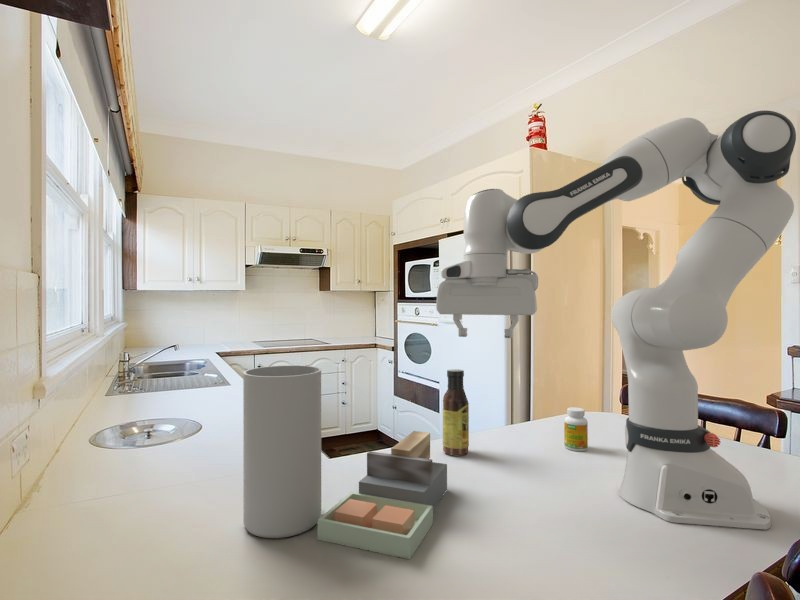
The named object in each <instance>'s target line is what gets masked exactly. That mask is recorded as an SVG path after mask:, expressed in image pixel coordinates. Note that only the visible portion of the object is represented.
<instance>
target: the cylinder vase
mask: <svg viewBox="0 0 800 600" xmlns="http://www.w3.org/2000/svg"><path fill="white" fill-rule="evenodd" d="M242 382H243V387H242V389H243V395H242V396H243V397H242V398H243V403H242V404H243V405H242V408H243V409H242V411H243V416H242V417H243V426H242V427H243V428H242V429H243V433H242V434H243V437H242V438H243V439H242V441H243V446H242V447H243V448H242V449H243V453H242V454H243V456H242V457H243V458H242V459H243V462H242V463H243V466H242V467H243V470H242V471H243V473H242V474H243V496H242V497H243V500H242V501H243V508H242V509H243V514H242V515H243V518H242V519H243V525H244V528H245V529H246V531H247V532H248V533H250V534H251V535H253V536H257V537H259V538H263V539H265V538H266V539H282V538H289V537H294V536H297V535H300V534H302V533H305V532H308V531H309V530H311V529H312V528H313V527H315V525H316V524H318V519H319V518H320V517H322V368H320V367H317V366H311V365H272V366H261V367H255V368H250V369H246V370H244V371H243V381H242Z"/></svg>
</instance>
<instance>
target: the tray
mask: <svg viewBox="0 0 800 600" xmlns="http://www.w3.org/2000/svg"><path fill="white" fill-rule="evenodd" d="M349 499H353V500H359V501H364V502H369V503H375V504H377V513H378V512H379V511H380V510H381V509H382V508H383V507H384V506H385V505H387V506H393V507H399V508H404V509H410V510H414V527H413V528H412V529H411V531H410V532H409V533H408V535H402V534H397V533H392V532H387V531H382V530H377V529H372V528H367V527H362V526H357V525H352V524H347V523H342V522H337V521H335V511H336V510H337V509H338V508H340V507H341V506H342V505H343V504H344V503H346V502H347V501H348V500H349ZM433 521H434V509H433V506H431V505H425V504H419V503H413V502H407V501H401V500H396V499H390V498H384V497H378V496H372V495H366V494H360V493H359V492H353V491H350V492H349V493H348V494H347V495H346V496H344V497H343V498H341V500H340V501H338V502H337V503H336V504H335V505H334V506H332V507H331V508H330V509H329V510H327V511H326V513H324V514H323V515H321V517H320V518H319V519H318V522H317V540H318V541H323V542H328V543H333V544H337V545H342V546H347V547H351V548H354V549H359V548H360V550H364V551H368V550H369V552H373V551H374V553H377V552H378V554H382V555H383V554H384V555H387V556H392V557H397V558H401V559H406V560H410V559H411V558H412V556H413V554H414V553H416V551H417V549H418V547H419V546H420V545H421V543H422V542H423V540H424V539H425V537H426V535H427V533H429V531H430V530H431V528H432V526H433V525H432V524H434V522H433Z"/></svg>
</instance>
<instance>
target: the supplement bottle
mask: <svg viewBox="0 0 800 600" xmlns="http://www.w3.org/2000/svg"><path fill="white" fill-rule="evenodd" d="M585 411H586V410H585V409H584V408H582V407H574V406H571V407H567V410H566V412H567V413H566V414H567V416H566V417H565V418H564V421H563V423H564V424H563V425H564V431H563V432H564V437H563V440H564V448H565V449H567V450H569V451H573V452H586V451H587V450H588V449H589V448H588V445H589V443H588V440H589V439H588V438H589V437H588V434H589V432H588V430H589V429H588V427H589V425H588V422H589V421H588V419H587V418H586V417H585Z"/></svg>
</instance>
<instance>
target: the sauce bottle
mask: <svg viewBox="0 0 800 600" xmlns="http://www.w3.org/2000/svg"><path fill="white" fill-rule="evenodd" d="M464 371H465V370H463V369H458V368H457V369H447V371H446V372H447V373H446V376H447V390H446V392H445V393H444V394H443V398H442V399H443V400H442V407H443V408H442V446H443V447H442V451H443V453H444V452H445V453H444V454H446V453H447V454H446V455H448V454H452V455H451V456H453V455H460V456H465V455H467V454H468V452H469V445H470V441H469V440H470V437H469V436H470V435H469V433H470V431H469V430H470V429H469V428H470V427H469V426H470V425H469V423H470V422H469V421H470V420H469V418H470V417H469V415H470V413H469V411H470V410H469V406H470V405H469V404H470V403H469V401H468V398H467V395H466V392H465V388H464V376H465V373H464ZM466 453H467V454H466ZM464 454H465V455H464Z"/></svg>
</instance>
